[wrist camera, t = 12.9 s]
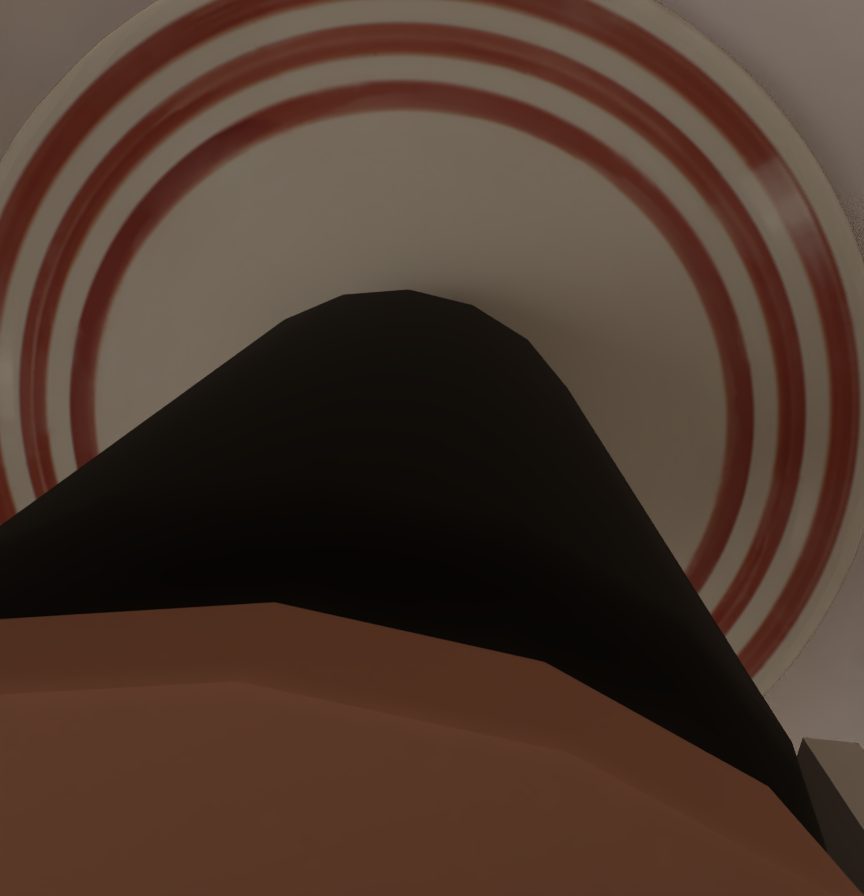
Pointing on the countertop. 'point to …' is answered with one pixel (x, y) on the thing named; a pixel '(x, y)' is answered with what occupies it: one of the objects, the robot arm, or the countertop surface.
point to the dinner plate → (460, 251)
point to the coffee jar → (377, 646)
